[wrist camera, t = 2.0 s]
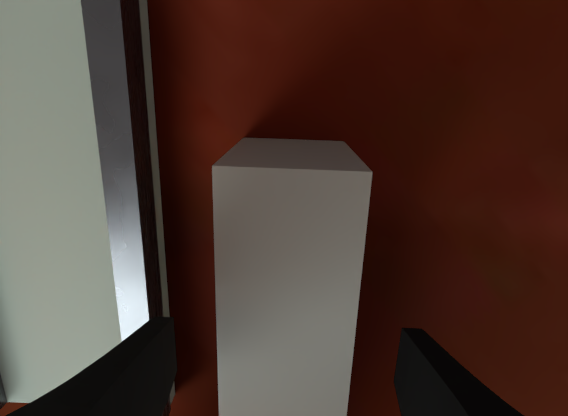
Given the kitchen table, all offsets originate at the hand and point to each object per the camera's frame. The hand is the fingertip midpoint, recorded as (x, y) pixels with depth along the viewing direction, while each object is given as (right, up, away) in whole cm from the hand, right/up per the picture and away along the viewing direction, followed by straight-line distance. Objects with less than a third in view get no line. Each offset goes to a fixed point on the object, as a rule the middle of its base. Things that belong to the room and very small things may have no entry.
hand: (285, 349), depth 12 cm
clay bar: (0, +2, +5) cm, 5 cm away
